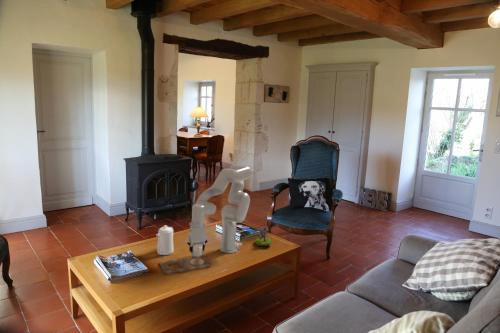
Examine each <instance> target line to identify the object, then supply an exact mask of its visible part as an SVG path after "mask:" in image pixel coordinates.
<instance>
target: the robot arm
mask: <svg viewBox="0 0 500 333" xmlns="http://www.w3.org/2000/svg"><path fill="white" fill-rule="evenodd" d="M252 172H253V171H252V169H251V167H249V166H245V165H240V164H236V163H235V164H234V163H233V164H231V165H230V166H229V168H227V167H226V168H222V169H221V170H220V171H219V174H218V176H217V177H216V179H215V181H214V183H213V184H212V185H211V186H210V187H209V188H207V189H206V190H204V191H203V192H202V193H201V194H199V196H198V198H197V200H196V201H195V204H192V207H191V208H192V209H191V222H189V227H190V228H189V234H188V236H187V238H186V239H185V240H184V242H185V243H186V244H187V245H188V246H189V249H188V250H189V252H190V254H192V252H193V247H192V245H193V243H199V242H203V251H202V252H205V248H206V244H207V243H208V242H209V240H210V239H211V238H210V237H209V236H208V235H207V228H206V225H205V216H211V215H212V216H213V215H214V214H215V213H216V212H217V205H215V203H212V202H209V201H208V200H209V199H210V198H212V197H214V196H218V195H221V194H223V193H224V192H225V191H226V189H227V187H228V185H230V183H231V187H230V191H229V193H228V197H227V201H228V203H230V204H231V205H230V204H229V205H227V204H226V205H224V206H223V207H222V208H221V211H220V213H221V219H222V232H221V234H222V235H221V246H219V251H220V252H222V253H225V254H232V253H236V252H238V250H239V249H238V247H242V246H243V244H242V242H240V243H239V242H237V241H236V240H237V239H236V238H237V223H243V222H244V220H246V217H247V215H248V214H247V213H248V211H249V206H250V203H251V197H250V195H249V194H248V193H247V192H244V187H245V181H247V180H248V179H250V178H251V176H252Z"/></svg>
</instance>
